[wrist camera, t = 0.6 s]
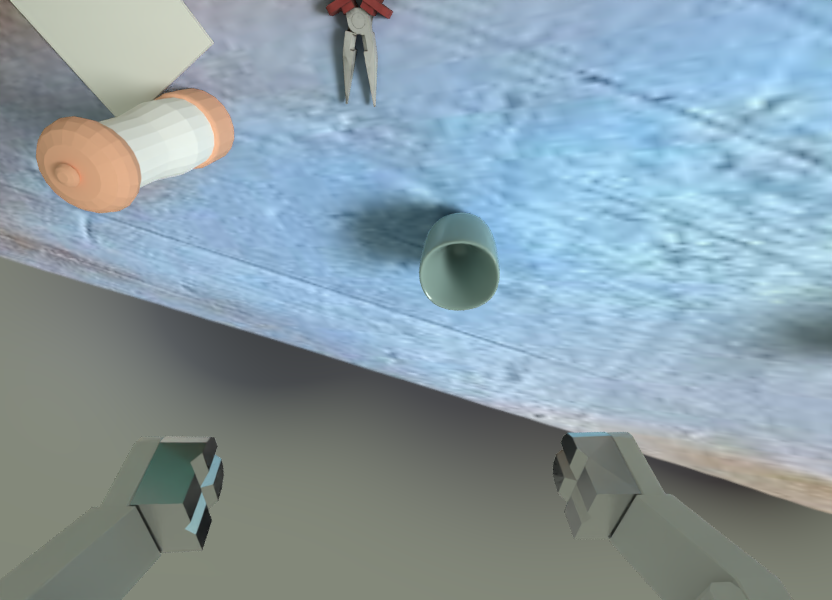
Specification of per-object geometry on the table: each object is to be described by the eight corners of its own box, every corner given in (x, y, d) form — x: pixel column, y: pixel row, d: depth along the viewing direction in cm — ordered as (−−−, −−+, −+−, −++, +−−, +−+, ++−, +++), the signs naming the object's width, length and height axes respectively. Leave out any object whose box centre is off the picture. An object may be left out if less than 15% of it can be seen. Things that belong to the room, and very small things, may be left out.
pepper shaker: (158, 86, 46) (-11, 119, 29) (227, 89, 45) (94, 124, 29) (175, 159, 50) (34, 223, 33) (239, 162, 49) (128, 229, 33)
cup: (430, 269, 54) (424, 314, 45) (421, 207, 50) (412, 244, 41) (496, 263, 53) (502, 308, 44) (491, 199, 49) (498, 235, 40)
